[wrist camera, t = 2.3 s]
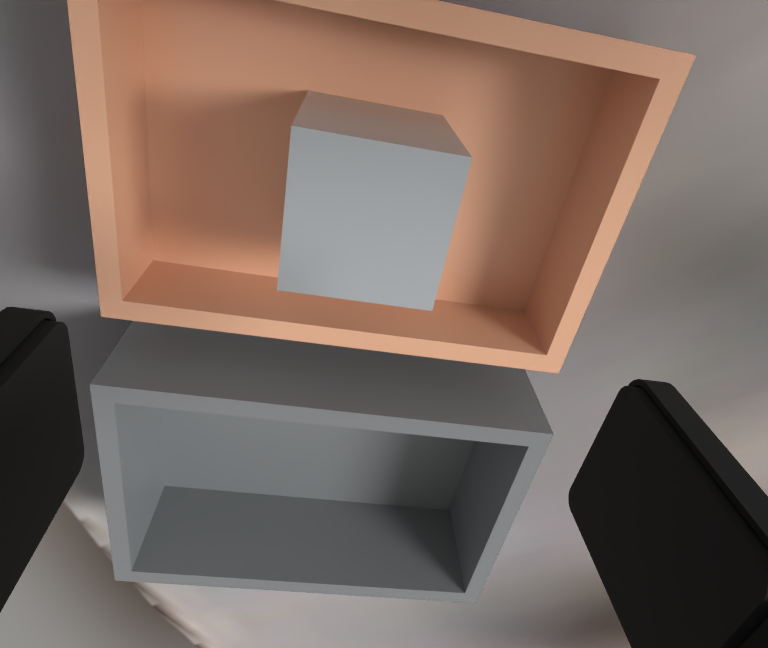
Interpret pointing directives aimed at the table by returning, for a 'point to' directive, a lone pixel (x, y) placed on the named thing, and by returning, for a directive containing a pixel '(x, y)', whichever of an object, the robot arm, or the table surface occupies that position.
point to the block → (369, 201)
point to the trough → (374, 84)
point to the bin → (309, 464)
